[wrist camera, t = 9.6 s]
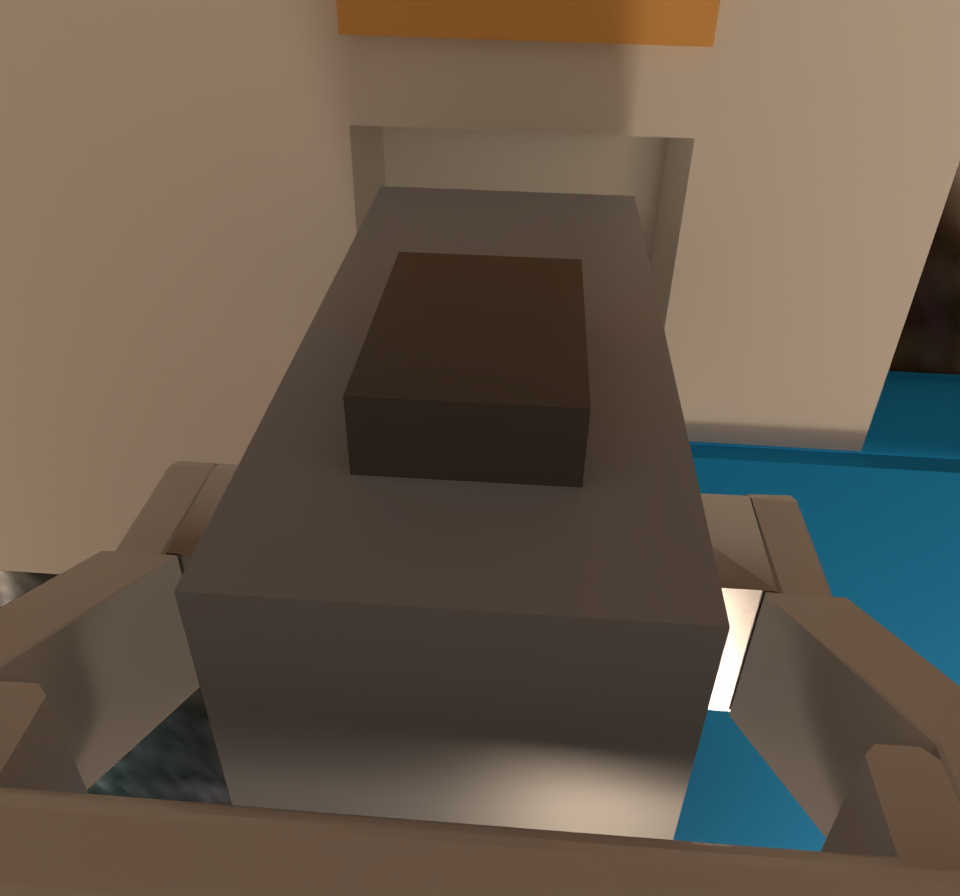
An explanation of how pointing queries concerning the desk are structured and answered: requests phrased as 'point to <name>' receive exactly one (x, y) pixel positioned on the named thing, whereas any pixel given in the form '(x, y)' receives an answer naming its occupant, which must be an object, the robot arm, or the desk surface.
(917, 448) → the book
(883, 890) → the robot arm
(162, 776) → the desk surface
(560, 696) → the plug
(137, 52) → the socket board
